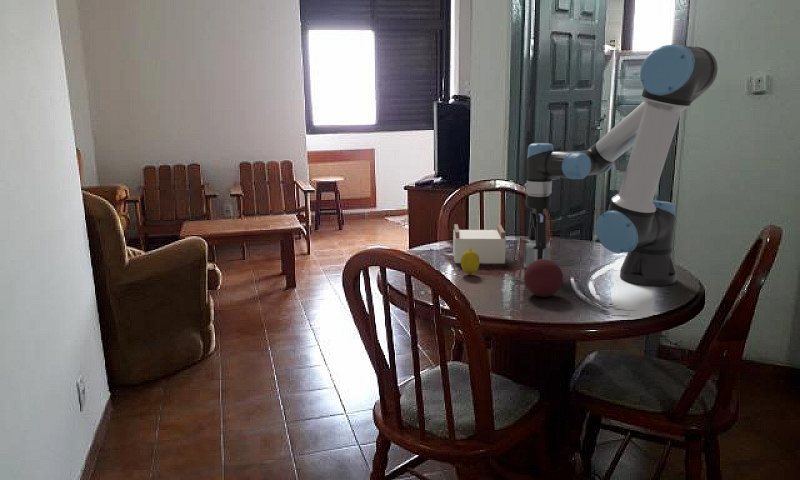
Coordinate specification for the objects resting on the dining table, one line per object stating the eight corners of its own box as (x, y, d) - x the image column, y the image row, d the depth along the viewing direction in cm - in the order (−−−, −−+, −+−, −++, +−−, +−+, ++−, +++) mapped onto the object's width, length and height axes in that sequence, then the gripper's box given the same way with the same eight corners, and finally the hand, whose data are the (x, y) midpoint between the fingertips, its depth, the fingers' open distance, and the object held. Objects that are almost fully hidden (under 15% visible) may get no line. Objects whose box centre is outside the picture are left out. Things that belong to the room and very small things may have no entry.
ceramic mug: (552, 271, 191) (553, 246, 189) (525, 270, 191) (526, 245, 190) (548, 263, 201) (549, 239, 199) (522, 262, 202) (522, 239, 200)
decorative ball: (530, 288, 174) (532, 253, 172) (566, 293, 169) (568, 257, 167) (518, 298, 165) (519, 261, 163) (555, 304, 160) (557, 266, 158)
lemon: (456, 275, 187) (457, 249, 186) (468, 271, 191) (468, 246, 189) (471, 278, 184) (472, 252, 182) (482, 274, 188) (483, 248, 186)
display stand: (505, 263, 200) (505, 232, 198) (454, 263, 201) (455, 232, 199) (500, 253, 214) (501, 224, 212) (453, 252, 215) (453, 224, 213)
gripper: (520, 189, 203) (518, 255, 207) (532, 200, 180) (529, 274, 185) (544, 189, 202) (541, 256, 207) (558, 200, 180) (555, 274, 185)
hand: (535, 264), depth 196 cm, fingers closed on ceramic mug, 11 cm apart
